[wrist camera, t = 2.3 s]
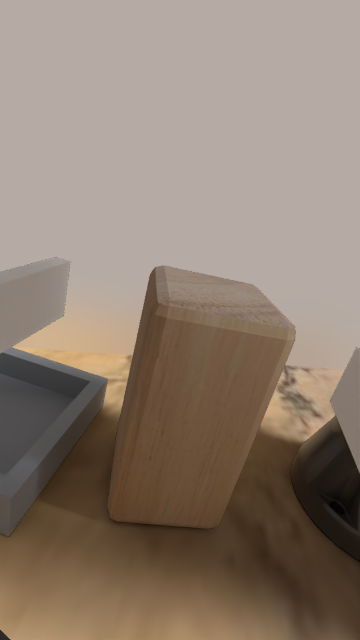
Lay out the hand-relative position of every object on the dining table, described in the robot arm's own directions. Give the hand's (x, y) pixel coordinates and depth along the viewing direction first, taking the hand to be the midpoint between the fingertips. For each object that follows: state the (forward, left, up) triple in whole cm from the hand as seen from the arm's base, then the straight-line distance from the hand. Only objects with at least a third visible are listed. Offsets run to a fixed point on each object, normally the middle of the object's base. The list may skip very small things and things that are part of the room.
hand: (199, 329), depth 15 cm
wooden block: (0, -11, -21) cm, 24 cm away
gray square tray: (+18, -10, -21) cm, 29 cm away
